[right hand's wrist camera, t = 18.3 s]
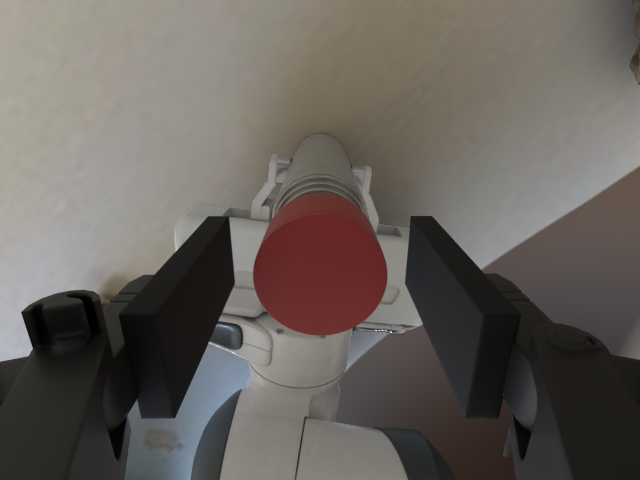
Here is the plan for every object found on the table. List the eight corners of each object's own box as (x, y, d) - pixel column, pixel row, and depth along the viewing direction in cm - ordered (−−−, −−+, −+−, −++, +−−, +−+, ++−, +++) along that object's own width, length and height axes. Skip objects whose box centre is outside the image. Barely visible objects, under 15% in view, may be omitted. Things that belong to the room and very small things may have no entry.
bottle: (295, 183, 34) (256, 329, 13) (294, 133, 33) (247, 206, 12) (344, 183, 34) (383, 329, 13) (345, 133, 33) (393, 206, 12)
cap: (399, 246, 14) (415, 277, 12) (321, 316, 15) (322, 357, 13) (317, 169, 13) (317, 185, 11) (241, 250, 14) (225, 281, 12)
